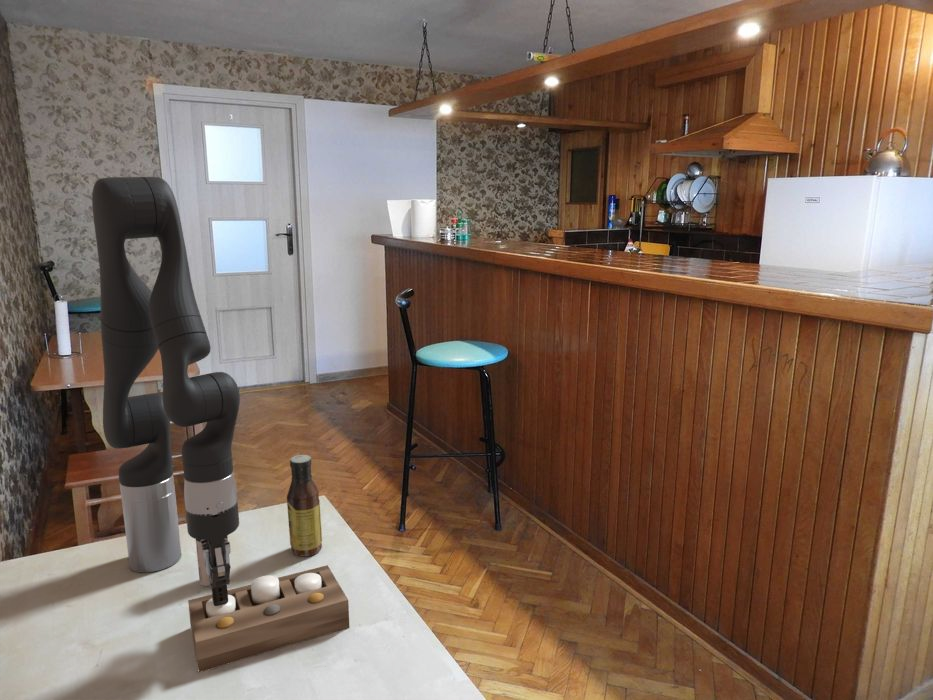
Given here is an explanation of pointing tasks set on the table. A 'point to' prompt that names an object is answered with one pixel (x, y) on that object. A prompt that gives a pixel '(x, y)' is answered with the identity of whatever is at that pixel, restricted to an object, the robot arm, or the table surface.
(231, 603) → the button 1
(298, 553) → the sauce bottle
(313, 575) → the button
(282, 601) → the button board
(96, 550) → the table surface
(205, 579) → the beer can
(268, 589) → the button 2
